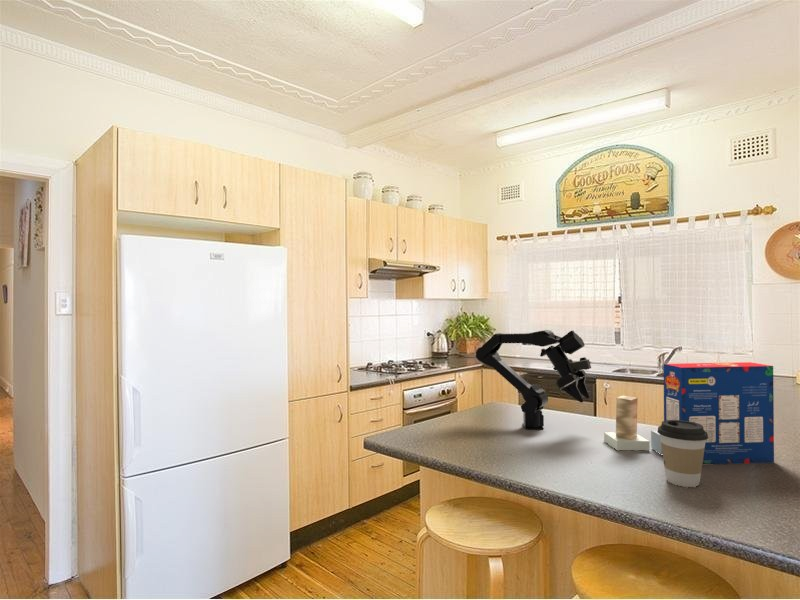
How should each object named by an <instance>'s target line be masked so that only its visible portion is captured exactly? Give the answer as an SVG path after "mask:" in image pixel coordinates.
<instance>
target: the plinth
mask: <svg viewBox="0 0 800 600" xmlns="http://www.w3.org/2000/svg"><path fill="white" fill-rule="evenodd" d="M604 441H605V443H606V442H607V443H608V444H609V446H610V445H611V446H612V447H613V448H612V447H611V446H610V447H611V448H612V449H614V448H615V449H616V450H650V449H651V442H650V441H649V440H648V439H646V438H644V437H643V436H642V435H639V434H638V433H637V437H635V438H633V439H631V440H630V439H625V438H621V437H616V431H615V432H614V431H610V432H609V431H607V432H606V431H605V432H603V442H604ZM607 443H606V444H607ZM608 444H607V445H608ZM615 449H614V450H615ZM616 450H615V451H616Z"/></svg>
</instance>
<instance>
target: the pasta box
mask: <svg viewBox="0 0 800 600" xmlns="http://www.w3.org/2000/svg"><path fill="white" fill-rule="evenodd" d="M774 398H775V397H774V366H773V365H770V364H763V363H757V362H756V363H755V362H751V361H750V362H749V361H748V362H746V361H745V362H744V361H743V362H742V361H741V362H698V363H697V362H695V363H694V362H693V363H689V362H688V363H685V362H684V363H680V362H679V363H663V421H665V420H683V421H690V422H694V423H698V424H700V425H702V426H703V428H704V431H706V432H707V434H708V439H707V440H706V442H705V449H704V456H703V463H702V464H713V465H735V464H738V465H739V464H760V463H761V464H762V463H765V464H766V463H767V464H768V463H775V430H774V429H775V425H774V424H775V421H774V420H775V413H774V410H775V408H774V407H775V406H774V402H775V401H774V400H775V399H774Z"/></svg>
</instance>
